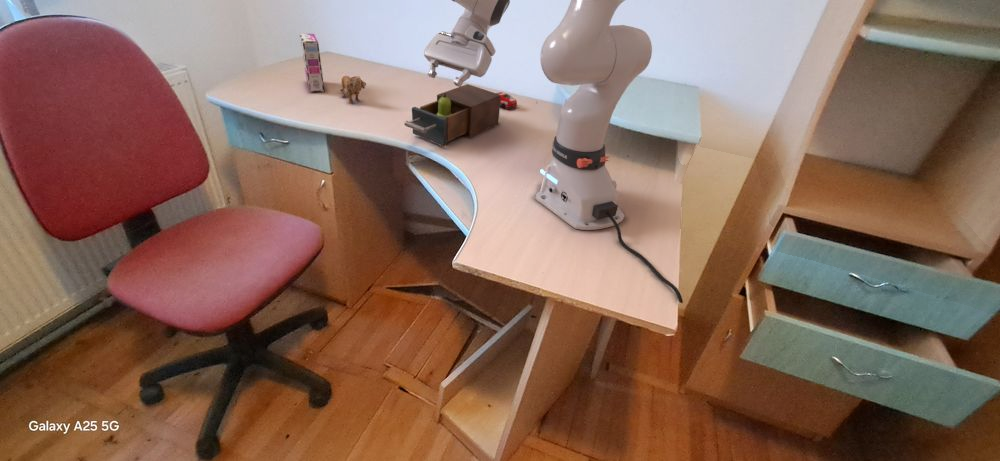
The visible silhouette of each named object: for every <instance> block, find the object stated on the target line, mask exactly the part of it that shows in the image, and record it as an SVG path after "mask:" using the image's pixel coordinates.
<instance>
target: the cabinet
mask: <svg viewBox="0 0 1000 461" xmlns="http://www.w3.org/2000/svg"><path fill="white" fill-rule="evenodd" d="M444 93H445V94H446V97H447V98H449V99H450V101H451V102H452V103H455V104H457V105H460V106H463V107H466V108H469V127H468V133H465V134H463V135H462V136H464V137H466V138H468V139H471V138H473V137H475V136H477V135H479V134H482V133H484V132H485V131H488V130H490V129H492V128H495V126H498V125H499V124H500V122H499V121H500V111H501V110H500V109H501V107H500V99H501V98H500V97H501V95H499V94H496V93H497V92H493V91H490V90H486V89H484V88H481V87H477V86H475V85H472V84H469V83H466V84H463V85H461V87H459V86H457V87H455V88H452V89H449V90H447V91H444V92H441V93H438V94H436V101H438V100H439V99H440V98H441V97H444Z"/></svg>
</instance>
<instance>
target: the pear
mask: <svg viewBox="0 0 1000 461" xmlns="http://www.w3.org/2000/svg"><path fill="white" fill-rule="evenodd" d="M443 93H444V92H443ZM451 114H452V113H451V101H450V99H449V98H447V97H446V94H445V93H444V97H441V98H440V99H439V101H438V113H437V114H436V115H438V116H441V117H443V118H446V116H449V115H451Z"/></svg>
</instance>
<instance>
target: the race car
mask: <svg viewBox="0 0 1000 461" xmlns="http://www.w3.org/2000/svg"><path fill="white" fill-rule="evenodd" d="M495 93H496V94H499V95H501V97H500V98H501V99H500V108H501V109H502V110H506V109H507V110H509V109H511V110H512V109H514V108H517V107H518V101H517V99H516V98H515V97H513V96H512V95H510V94H508V93H506V92H502V91H501V92H495Z"/></svg>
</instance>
